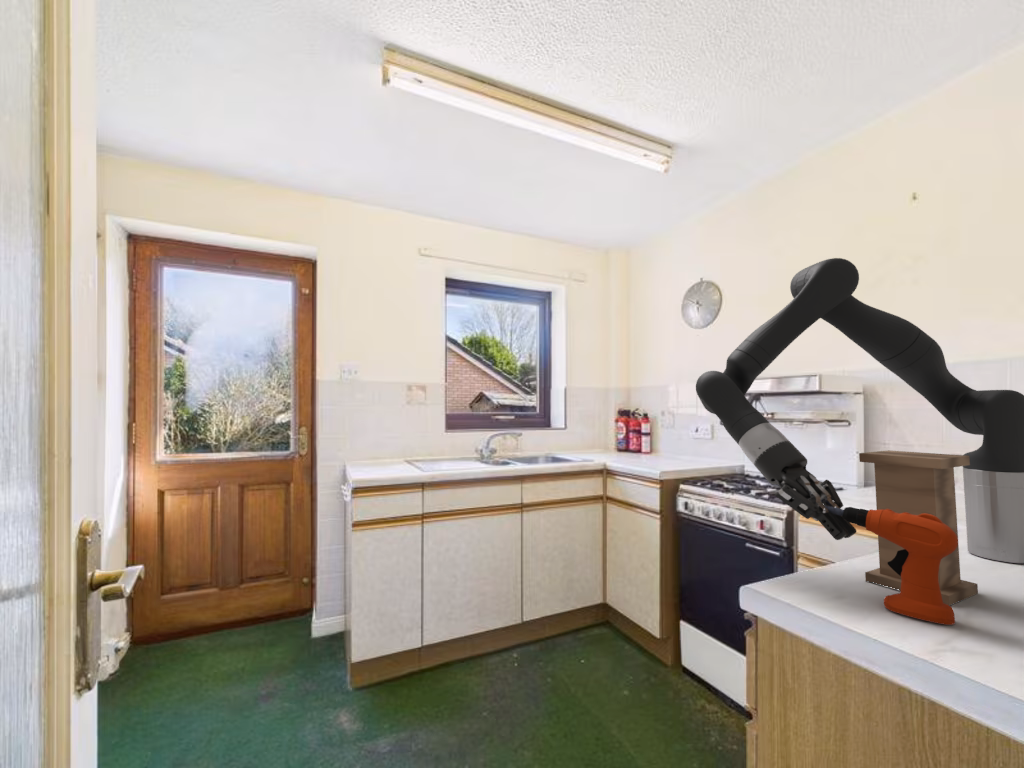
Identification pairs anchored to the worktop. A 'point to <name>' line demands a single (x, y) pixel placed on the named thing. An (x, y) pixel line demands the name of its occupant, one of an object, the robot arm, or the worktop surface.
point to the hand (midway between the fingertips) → (847, 535)
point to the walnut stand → (918, 510)
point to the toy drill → (911, 558)
